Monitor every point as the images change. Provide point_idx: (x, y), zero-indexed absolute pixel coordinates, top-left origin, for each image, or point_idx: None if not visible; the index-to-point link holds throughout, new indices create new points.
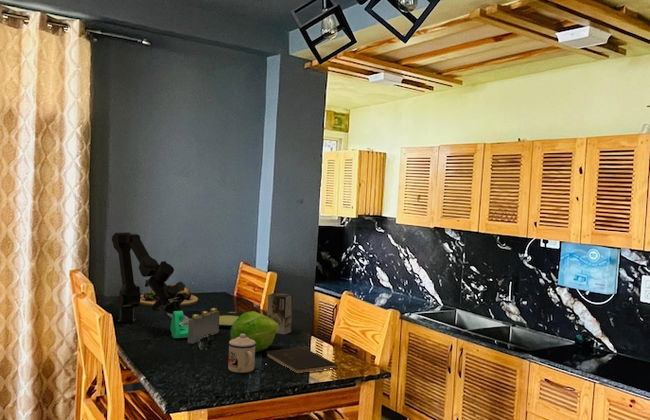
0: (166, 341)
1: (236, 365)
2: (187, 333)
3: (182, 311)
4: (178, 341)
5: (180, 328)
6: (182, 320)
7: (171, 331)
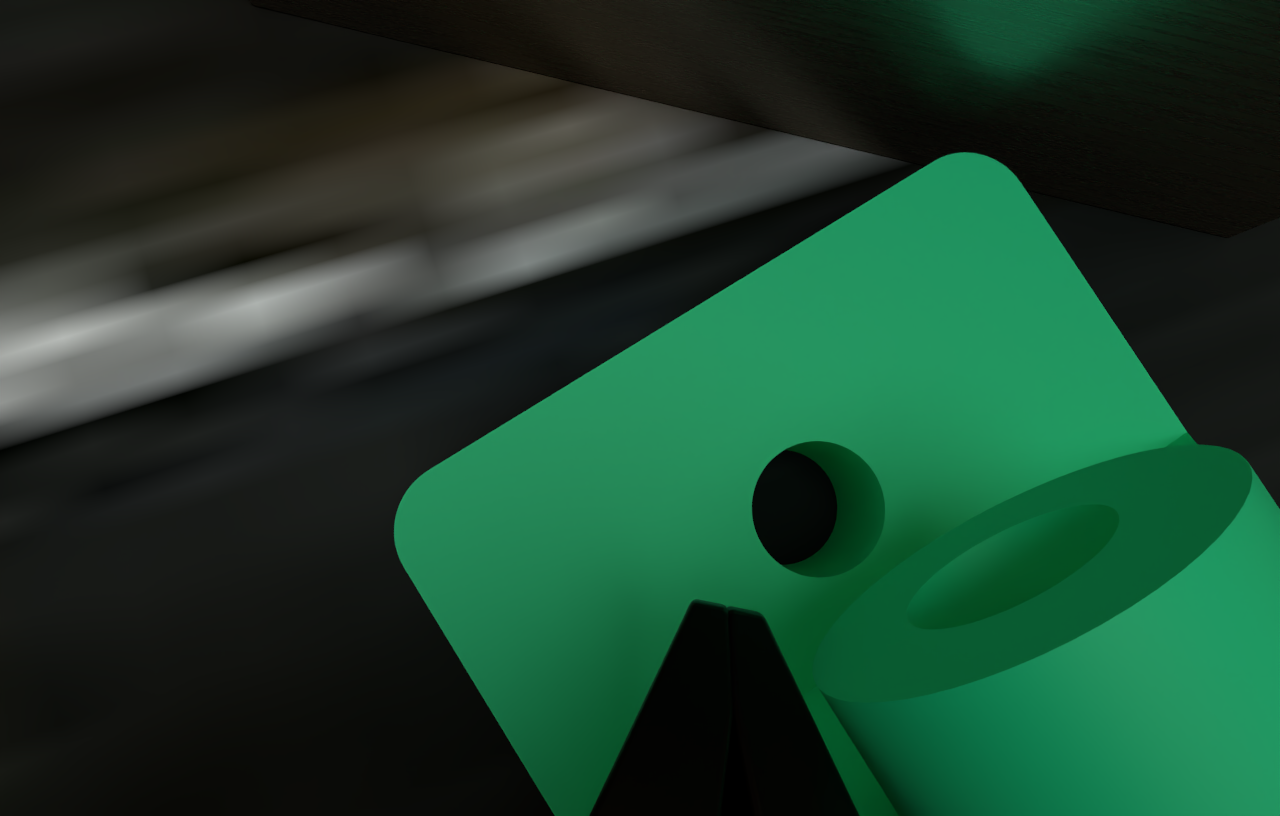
0: None
1: None
2: (1091, 290)
3: (1226, 545)
4: None
5: None
6: (1078, 483)
7: None
